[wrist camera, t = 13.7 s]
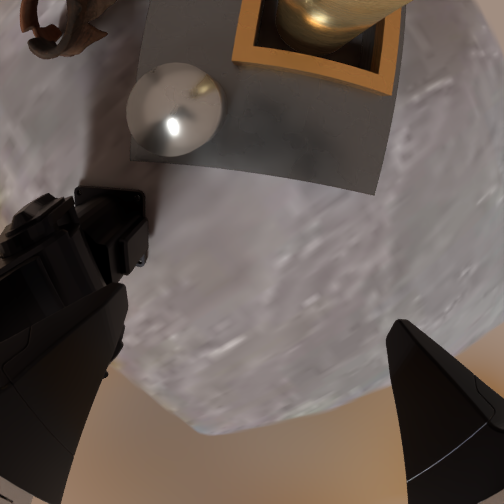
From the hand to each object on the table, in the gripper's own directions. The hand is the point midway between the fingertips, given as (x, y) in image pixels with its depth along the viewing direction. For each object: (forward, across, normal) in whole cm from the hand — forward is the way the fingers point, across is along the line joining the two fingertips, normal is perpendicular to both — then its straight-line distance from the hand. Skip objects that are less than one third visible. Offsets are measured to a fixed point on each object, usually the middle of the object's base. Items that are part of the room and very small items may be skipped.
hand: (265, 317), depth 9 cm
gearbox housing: (+13, +1, -10) cm, 16 cm away
